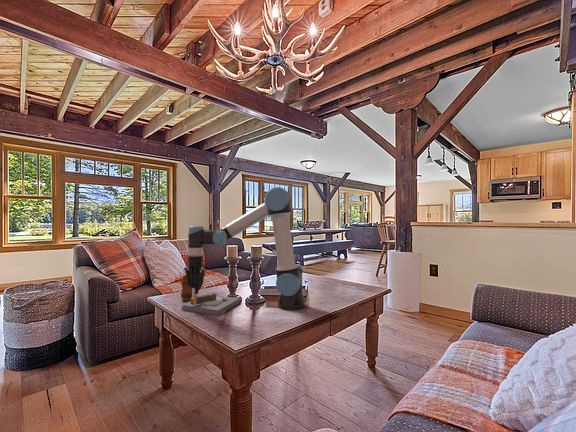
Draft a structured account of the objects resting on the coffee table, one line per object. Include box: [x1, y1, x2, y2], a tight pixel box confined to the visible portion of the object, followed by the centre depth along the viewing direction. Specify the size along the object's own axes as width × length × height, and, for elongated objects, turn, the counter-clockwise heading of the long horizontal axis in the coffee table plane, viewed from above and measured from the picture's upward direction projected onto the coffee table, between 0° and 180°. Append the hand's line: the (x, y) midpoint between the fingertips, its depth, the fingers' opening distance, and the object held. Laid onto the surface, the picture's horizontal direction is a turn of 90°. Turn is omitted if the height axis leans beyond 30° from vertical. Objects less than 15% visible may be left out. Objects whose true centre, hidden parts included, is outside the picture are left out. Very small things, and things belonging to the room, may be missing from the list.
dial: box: [190, 292, 223, 307], centre depth 156 cm, size 18×11×5 cm, turn 136°
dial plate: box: [181, 293, 241, 316], centre depth 159 cm, size 22×22×3 cm
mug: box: [180, 274, 204, 302], centre depth 172 cm, size 15×8×15 cm, turn 143°
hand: (194, 299), depth 153 cm, fingers closed
